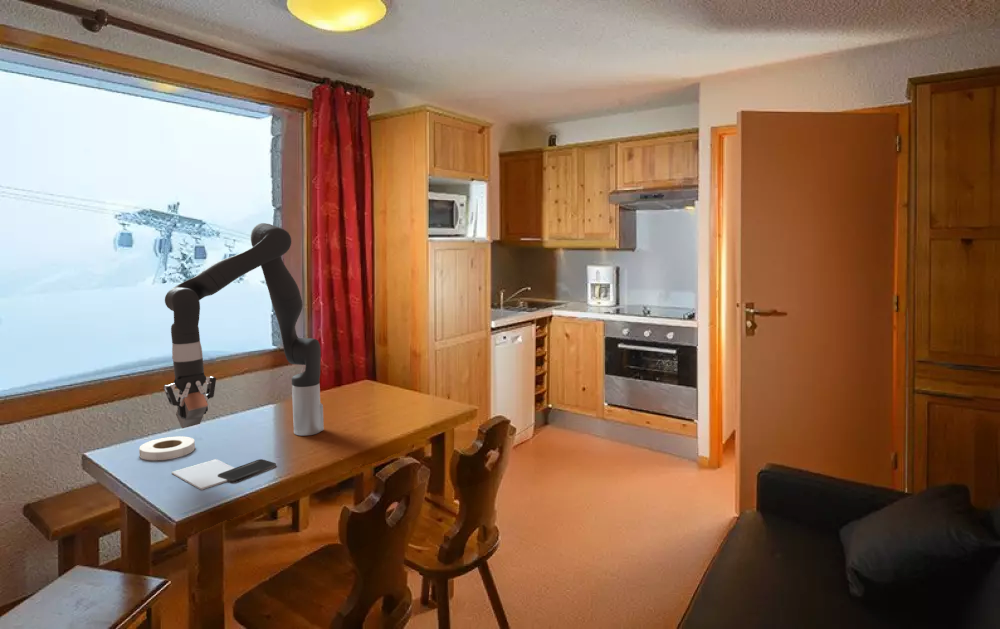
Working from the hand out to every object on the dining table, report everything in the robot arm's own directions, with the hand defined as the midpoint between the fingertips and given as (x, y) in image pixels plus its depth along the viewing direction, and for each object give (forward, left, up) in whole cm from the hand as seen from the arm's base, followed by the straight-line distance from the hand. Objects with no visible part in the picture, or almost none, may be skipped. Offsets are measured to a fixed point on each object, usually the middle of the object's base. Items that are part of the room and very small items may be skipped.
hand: (193, 415), depth 173 cm
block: (0, -4, -2) cm, 5 cm away
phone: (-9, +11, -18) cm, 23 cm away
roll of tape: (-2, -25, -18) cm, 30 cm away
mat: (-1, +4, -17) cm, 18 cm away
